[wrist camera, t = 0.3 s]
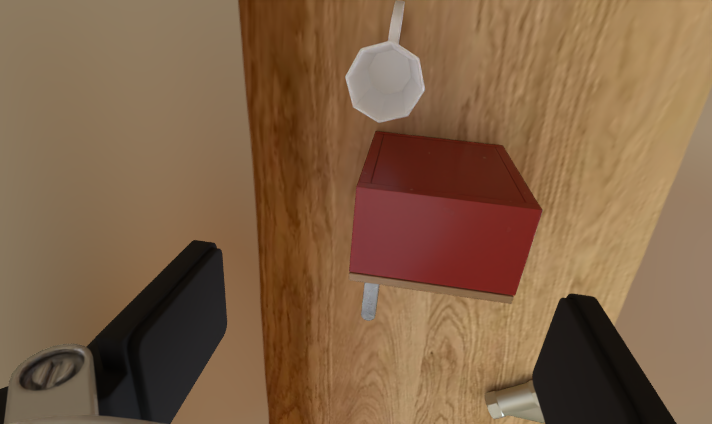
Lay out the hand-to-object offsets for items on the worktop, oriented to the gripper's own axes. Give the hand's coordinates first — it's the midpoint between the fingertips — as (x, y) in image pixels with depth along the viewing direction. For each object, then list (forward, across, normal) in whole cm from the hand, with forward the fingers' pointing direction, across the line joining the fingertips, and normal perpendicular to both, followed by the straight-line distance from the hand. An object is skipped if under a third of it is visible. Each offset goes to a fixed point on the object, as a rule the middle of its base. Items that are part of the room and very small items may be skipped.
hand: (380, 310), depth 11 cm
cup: (+36, +2, -4) cm, 36 cm away
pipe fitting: (+37, -22, +41) cm, 60 cm away
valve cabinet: (+36, -4, +8) cm, 37 cm away
